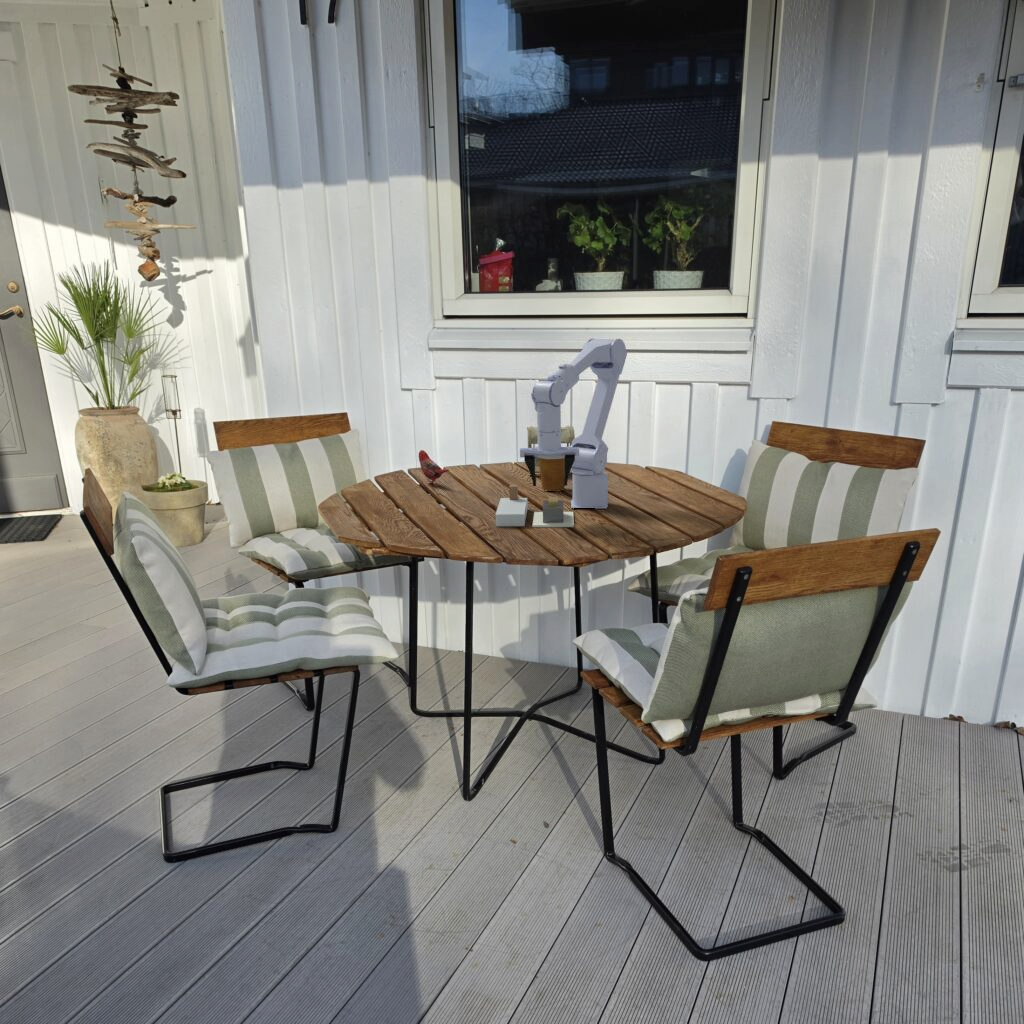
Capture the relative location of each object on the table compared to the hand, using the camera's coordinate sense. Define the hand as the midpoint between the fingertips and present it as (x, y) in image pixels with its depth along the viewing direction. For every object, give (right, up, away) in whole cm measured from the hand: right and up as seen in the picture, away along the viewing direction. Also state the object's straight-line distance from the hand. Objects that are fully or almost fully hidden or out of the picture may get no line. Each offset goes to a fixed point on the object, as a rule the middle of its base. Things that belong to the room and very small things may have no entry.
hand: (550, 485), depth 186 cm
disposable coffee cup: (+3, 0, +31) cm, 31 cm away
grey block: (+1, -8, 0) cm, 8 cm away
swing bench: (+3, +6, +53) cm, 54 cm away
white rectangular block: (-9, -8, +4) cm, 13 cm away
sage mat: (+1, -9, 0) cm, 9 cm away
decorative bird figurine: (-33, +1, +41) cm, 52 cm away
